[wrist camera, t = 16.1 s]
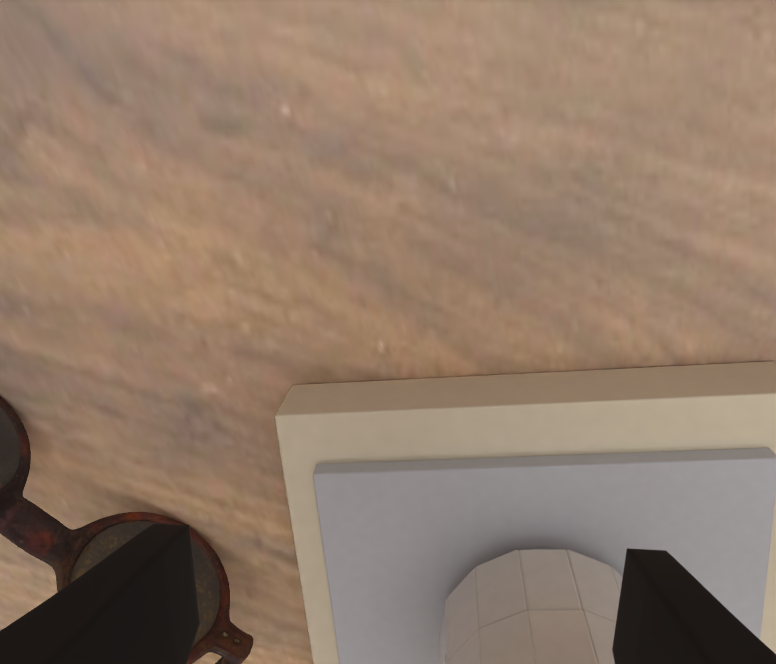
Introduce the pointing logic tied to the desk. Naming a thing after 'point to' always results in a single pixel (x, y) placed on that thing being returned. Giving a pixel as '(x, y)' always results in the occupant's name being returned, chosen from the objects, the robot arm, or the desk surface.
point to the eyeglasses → (107, 546)
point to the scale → (522, 489)
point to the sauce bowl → (532, 611)
